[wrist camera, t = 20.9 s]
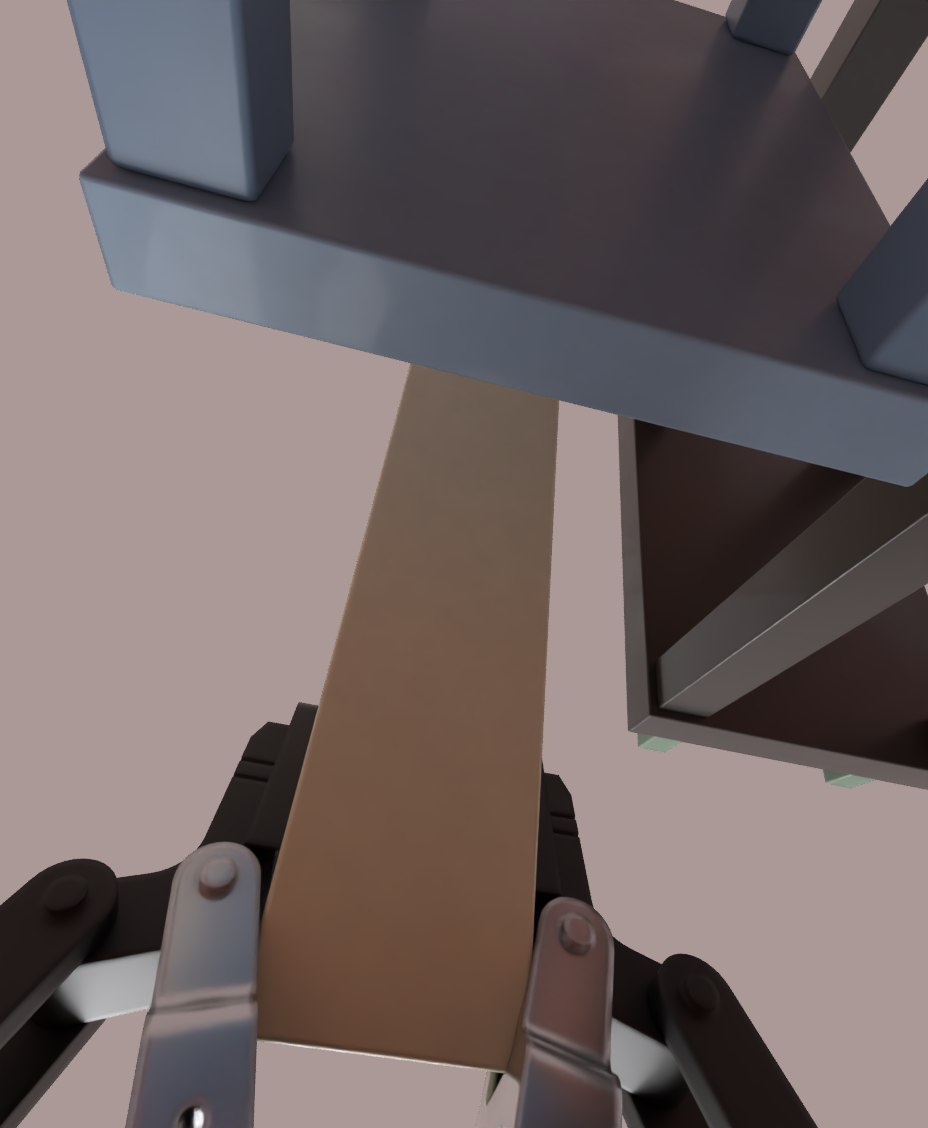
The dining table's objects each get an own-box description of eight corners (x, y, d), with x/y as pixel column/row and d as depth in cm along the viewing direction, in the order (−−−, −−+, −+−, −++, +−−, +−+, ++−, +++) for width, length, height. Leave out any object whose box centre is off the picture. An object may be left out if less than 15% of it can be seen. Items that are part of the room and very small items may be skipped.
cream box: (228, 1037, 8) (256, 1012, 11) (528, 1078, 8) (468, 1041, 11) (448, 218, 19) (430, 325, 23) (567, 250, 20) (531, 350, 23)
